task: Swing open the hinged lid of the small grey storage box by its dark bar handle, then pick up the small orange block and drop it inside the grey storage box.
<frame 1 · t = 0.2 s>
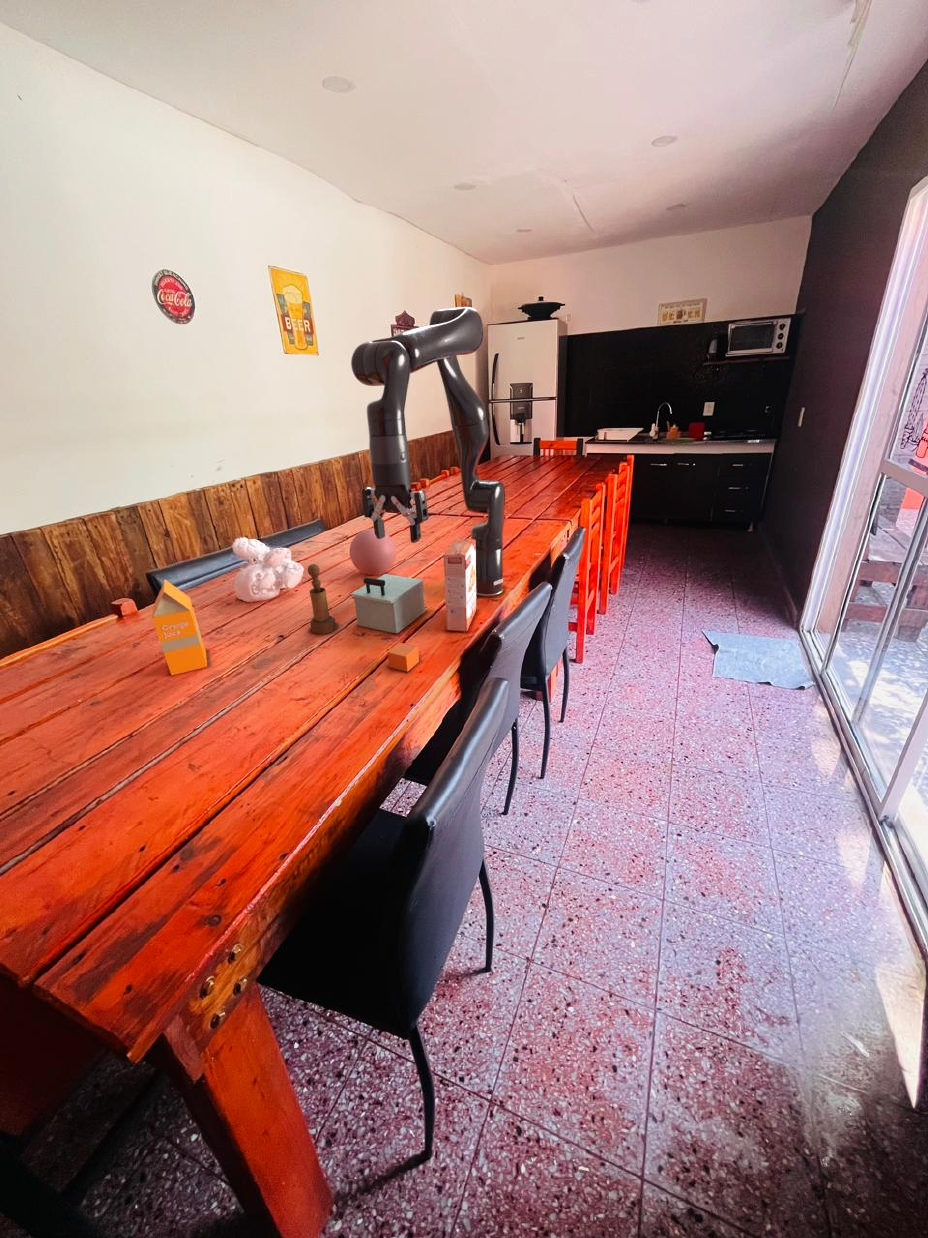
hand: (397, 539, 103), 29 cm above the table, tool pointing down, fingers open, 8 cm apart
grey storage box: (392, 618, 136), on the table
cracker box: (462, 620, 134), on the table
box lid: (387, 580, 131), point 11 cm above the table, hinge at 0.0°
orange juice: (189, 663, 118), on the table
mortar and pestle: (324, 629, 132), on the table
white lumpy blob: (273, 592, 157), on the table
orange block: (404, 664, 114), on the table
balloon: (376, 571, 171), on the table
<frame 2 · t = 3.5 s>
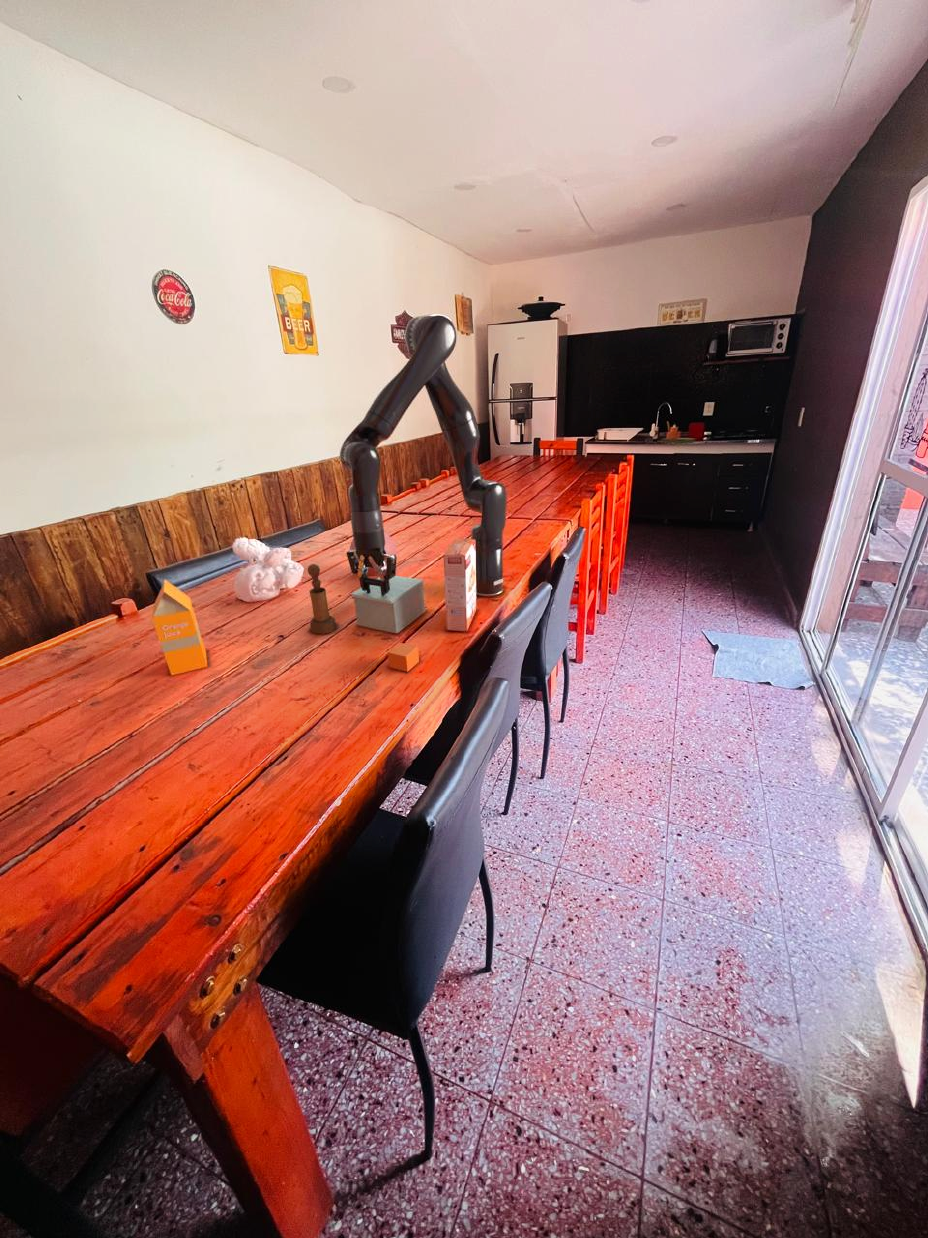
hand: (375, 591, 127), 10 cm above the table, tool pointing down, fingers closed on box lid, 5 cm apart
box lid: (387, 580, 131), point 11 cm above the table, hinge at -0.1°, touching gripper
everything else where it was.
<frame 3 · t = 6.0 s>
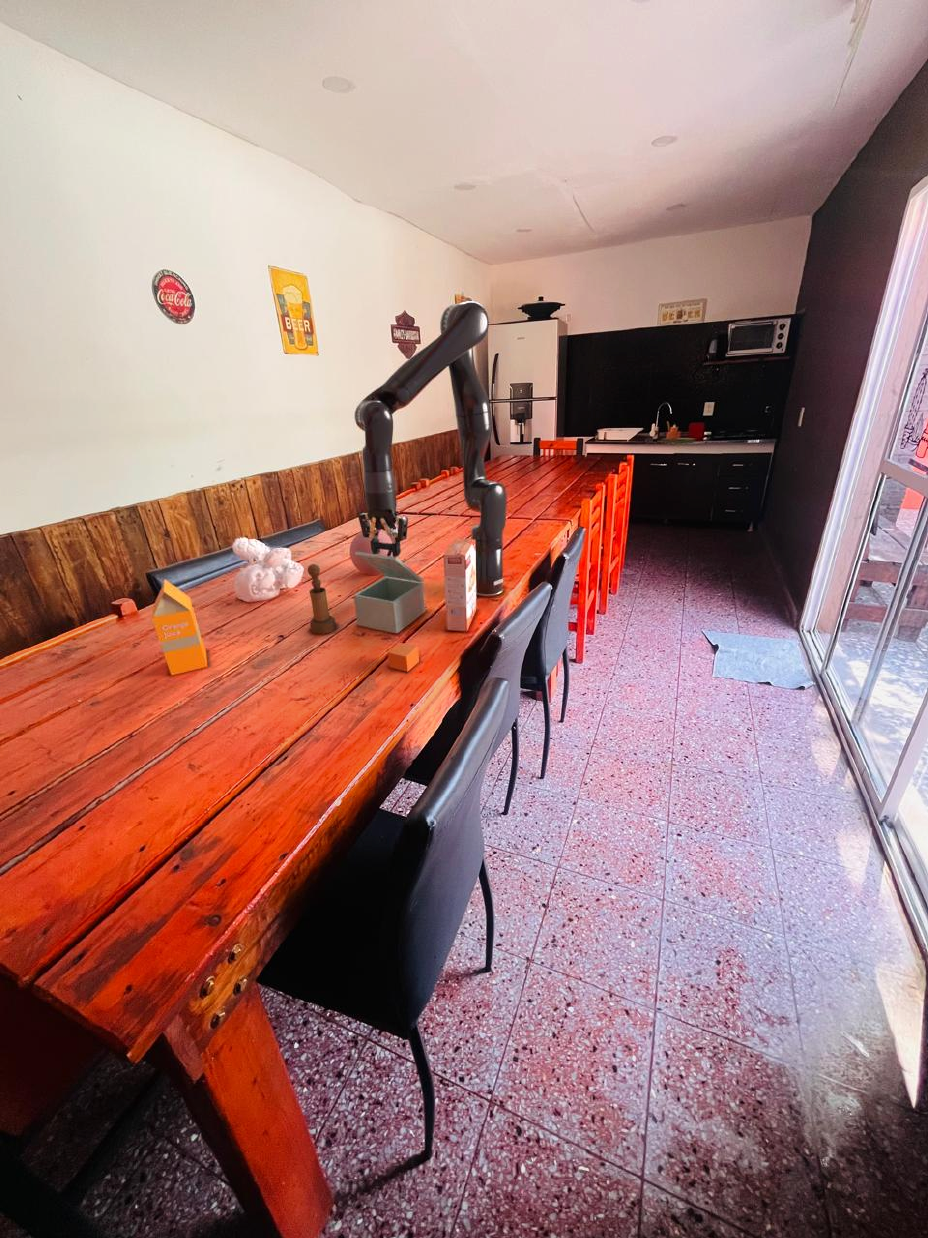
hand: (386, 554, 128), 18 cm above the table, tool pointing down, fingers closed on box lid, 5 cm apart
box lid: (392, 560, 131), point 16 cm above the table, hinge at 41.4°, touching gripper
everything else where it was.
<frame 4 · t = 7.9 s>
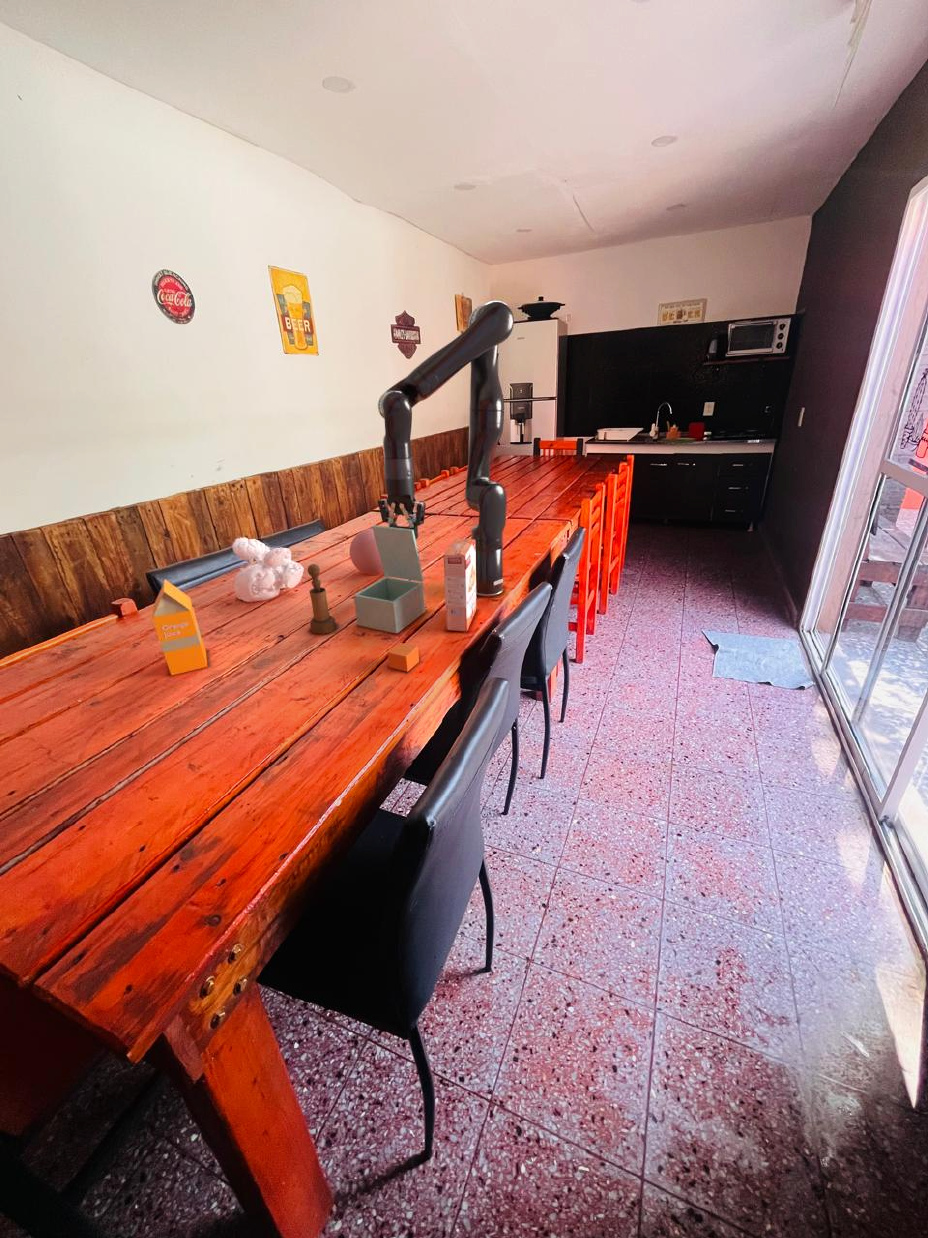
hand: (404, 538, 135), 20 cm above the table, tool pointing down, fingers closed on box lid, 5 cm apart
box lid: (402, 550, 135), point 17 cm above the table, hinge at 78.1°, touching gripper
everything else where it was.
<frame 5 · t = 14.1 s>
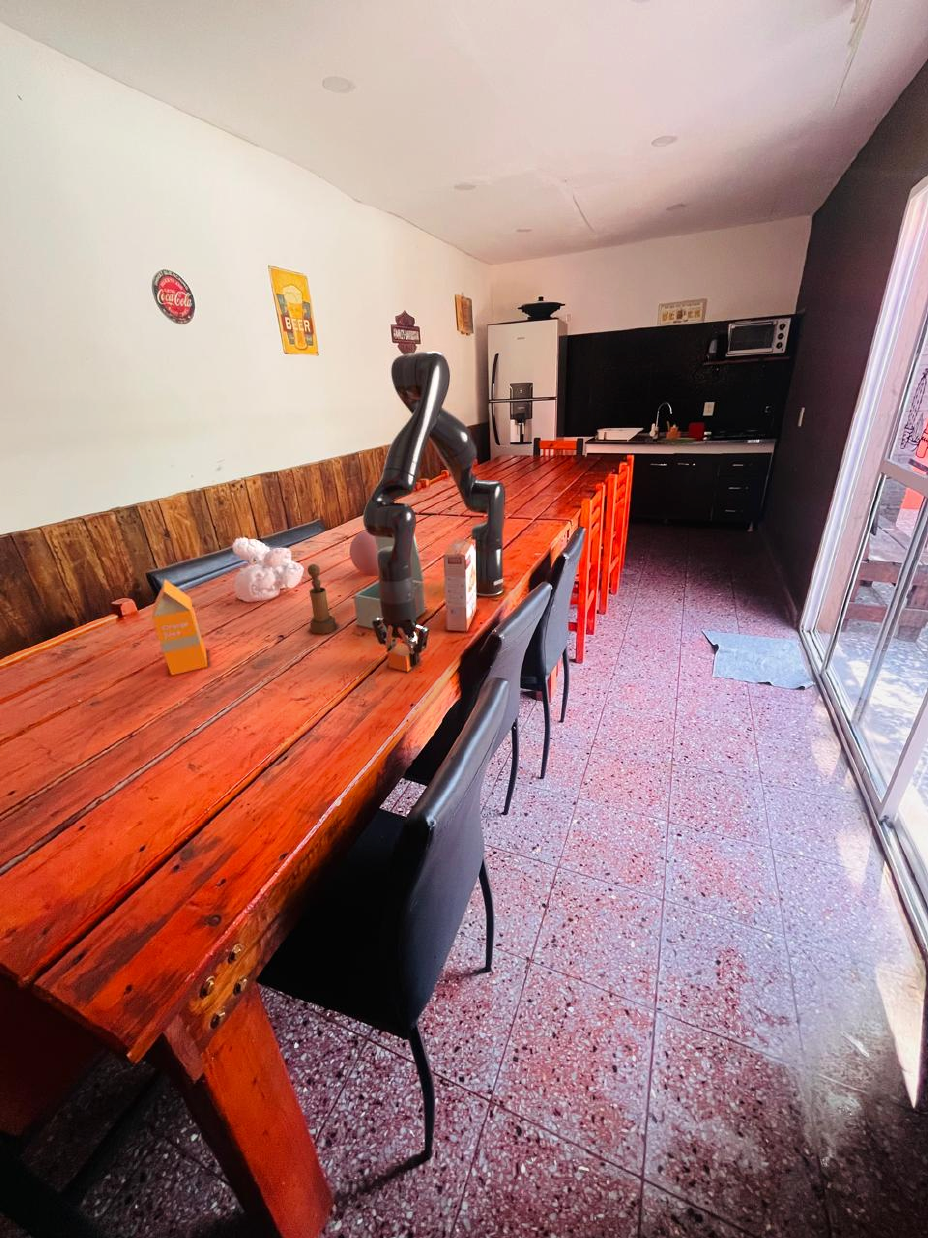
hand: (403, 662, 114), 0 cm above the table, tool pointing down, fingers closed on orange block, 5 cm apart
box lid: (402, 550, 135), point 17 cm above the table, hinge at 78.6°
orange block: (404, 664, 114), on the table, touching gripper
everything else where it was.
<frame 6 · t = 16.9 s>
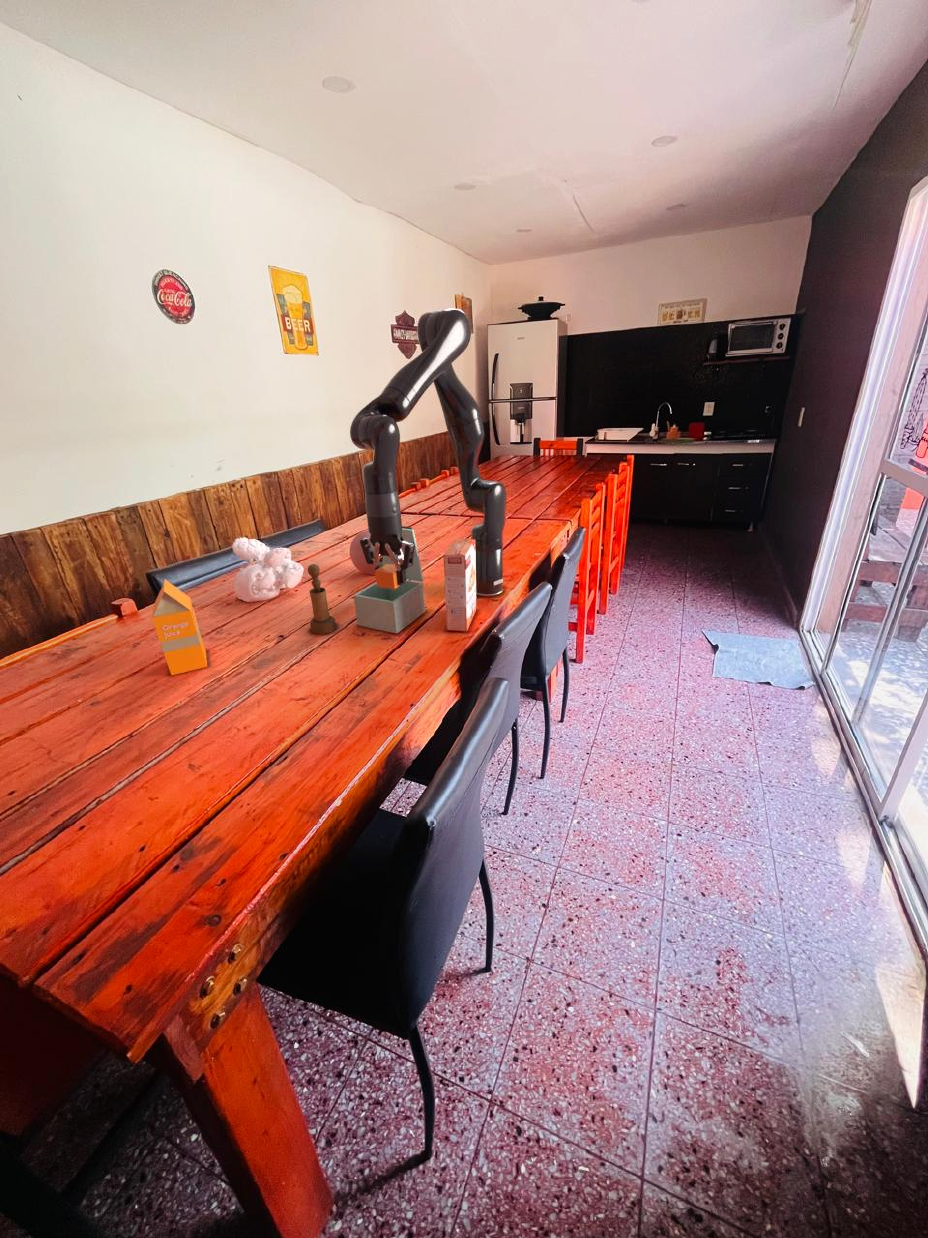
hand: (391, 582, 117), 16 cm above the table, tool pointing down, fingers closed on orange block, 5 cm apart
orange block: (391, 584, 117), point 16 cm above the table, touching gripper
everything else where it was.
when the fingers open (11 cm above the table, at t = 19.7 s): orange block drops 10 cm, resting on grey storage box.
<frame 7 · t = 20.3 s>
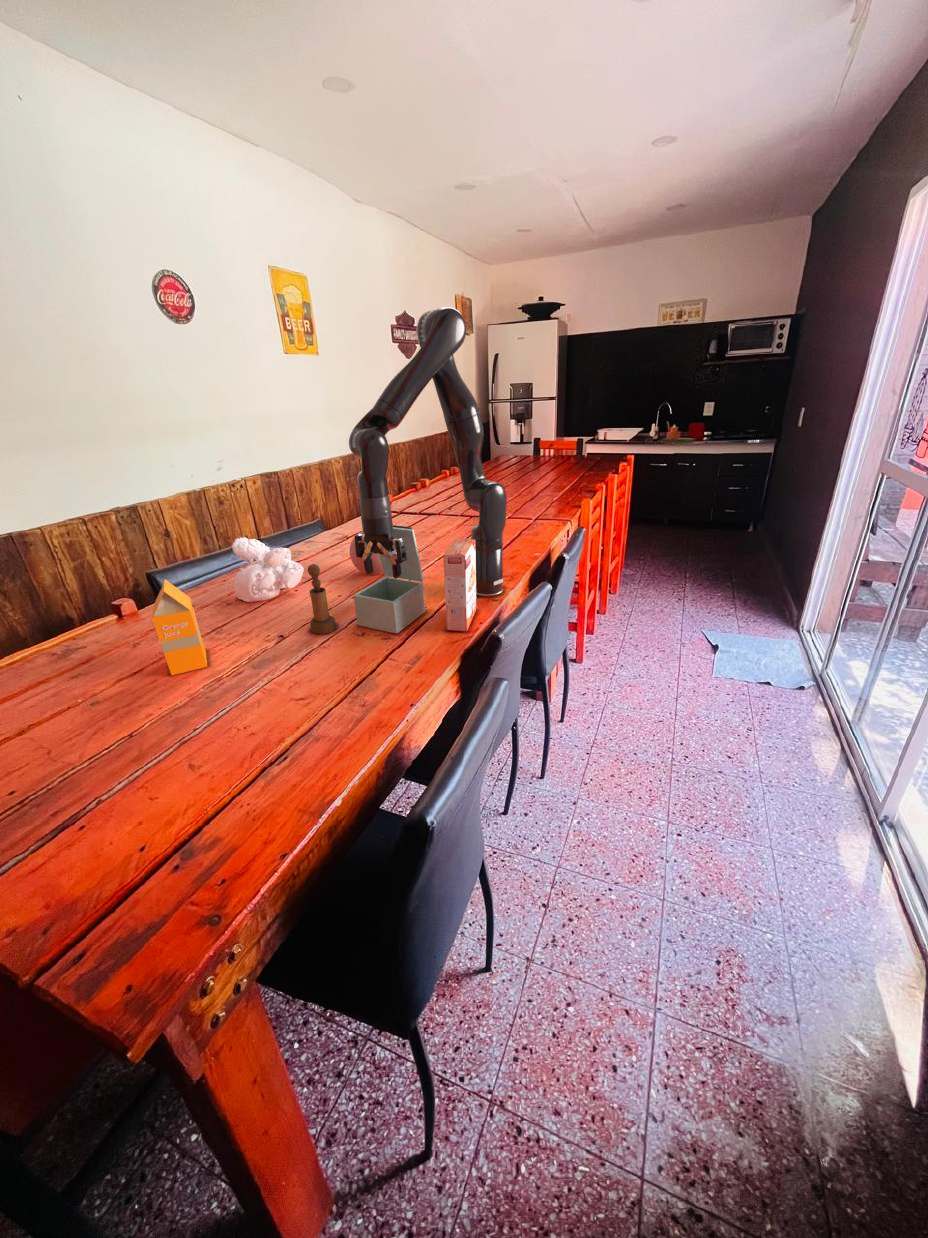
hand: (383, 575, 129), 13 cm above the table, tool pointing down, fingers open, 8 cm apart
orange block: (387, 618, 134), point 1 cm above the table, touching grey storage box
everything else where it was.
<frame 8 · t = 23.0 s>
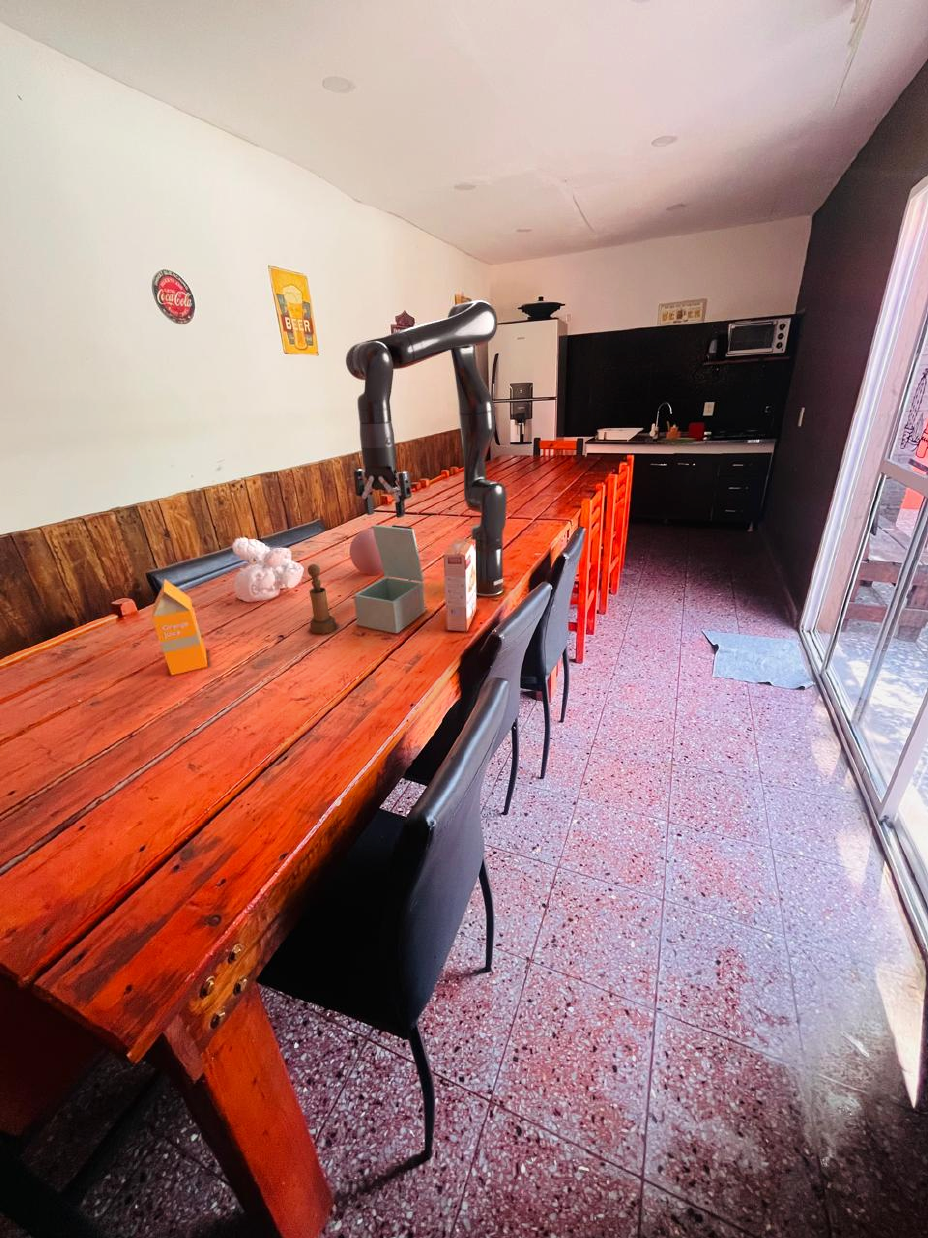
hand: (385, 515, 118), 30 cm above the table, tool pointing down, fingers open, 8 cm apart
nothing on the table moved.
at the end: box lid at +79° (first picture: +0°); orange block inside the target area in the grey storage box (2.0 cm from its centre), point 0.8 cm above the grey storage box's base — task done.
